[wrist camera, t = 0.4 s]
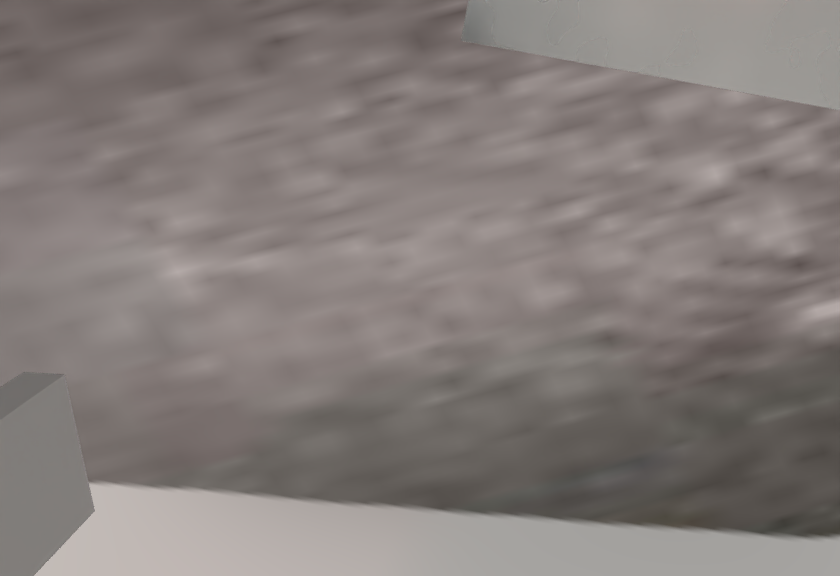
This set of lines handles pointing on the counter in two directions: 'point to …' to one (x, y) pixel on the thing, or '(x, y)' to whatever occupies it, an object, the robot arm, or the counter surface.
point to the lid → (680, 40)
